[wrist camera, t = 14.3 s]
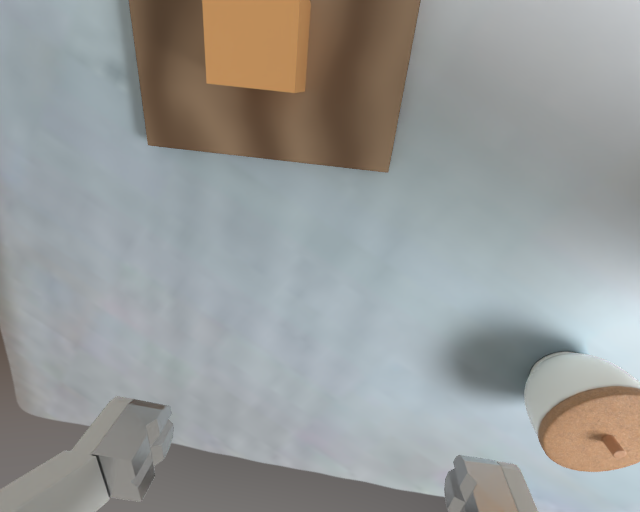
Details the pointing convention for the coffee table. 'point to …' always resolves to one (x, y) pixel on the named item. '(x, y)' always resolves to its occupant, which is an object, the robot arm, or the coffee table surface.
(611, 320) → the coffee table surface
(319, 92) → the post block
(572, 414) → the lidded jar
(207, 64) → the wooden toy cube
